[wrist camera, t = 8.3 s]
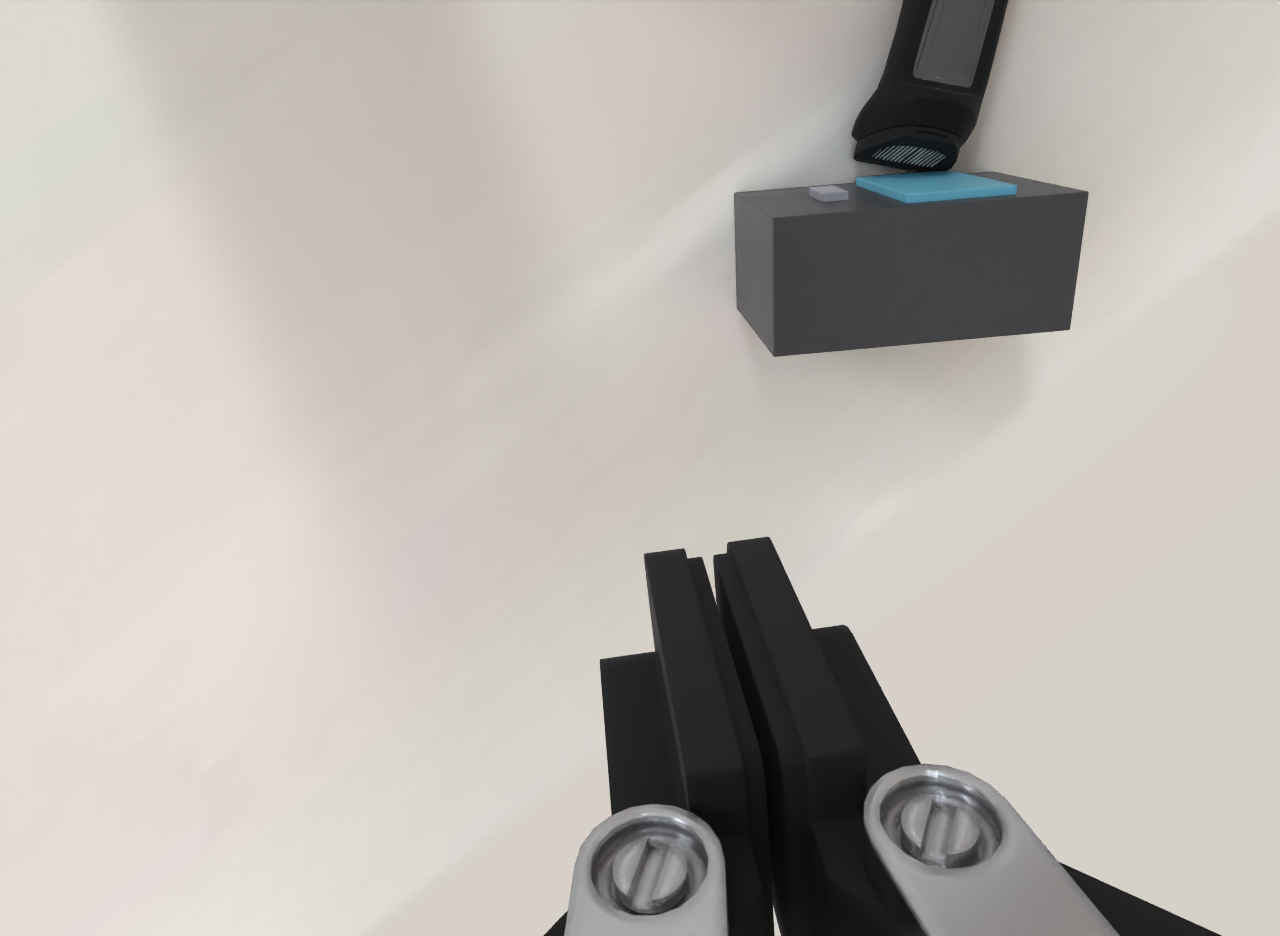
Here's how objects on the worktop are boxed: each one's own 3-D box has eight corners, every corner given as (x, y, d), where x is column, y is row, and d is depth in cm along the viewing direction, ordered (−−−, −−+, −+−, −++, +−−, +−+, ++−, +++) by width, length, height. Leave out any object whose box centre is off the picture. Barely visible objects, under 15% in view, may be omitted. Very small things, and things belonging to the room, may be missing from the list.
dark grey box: (772, 208, 24) (1090, 182, 24) (733, 184, 29) (994, 163, 30) (773, 357, 26) (1070, 330, 26) (736, 308, 31) (982, 287, 32)
